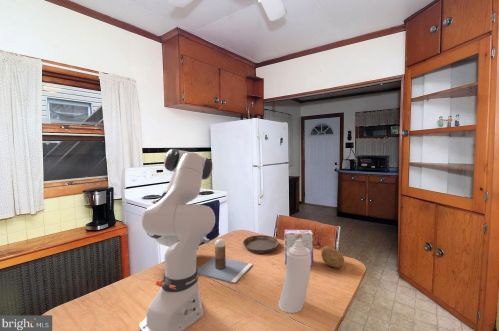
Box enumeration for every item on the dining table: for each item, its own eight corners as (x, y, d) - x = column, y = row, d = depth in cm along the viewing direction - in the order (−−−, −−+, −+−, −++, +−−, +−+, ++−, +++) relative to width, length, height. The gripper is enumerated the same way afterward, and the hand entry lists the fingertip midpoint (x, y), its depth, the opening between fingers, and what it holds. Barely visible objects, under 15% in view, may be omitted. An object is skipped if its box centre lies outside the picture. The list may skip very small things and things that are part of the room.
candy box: (311, 260, 127) (311, 229, 126) (313, 266, 121) (313, 233, 120) (284, 259, 129) (284, 228, 127) (284, 265, 123) (284, 232, 121)
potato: (331, 274, 114) (331, 257, 113) (316, 260, 128) (316, 245, 127) (350, 271, 116) (350, 255, 115) (333, 258, 129) (334, 243, 129)
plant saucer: (260, 258, 130) (260, 252, 130) (235, 247, 145) (235, 241, 145) (285, 247, 144) (285, 241, 144) (260, 237, 159) (260, 232, 159)
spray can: (289, 291, 101) (290, 232, 98) (314, 302, 94) (315, 238, 92) (274, 306, 92) (273, 241, 89) (299, 319, 85) (300, 249, 83)
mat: (235, 283, 107) (235, 282, 107) (194, 273, 116) (194, 271, 116) (252, 265, 123) (252, 263, 123) (215, 256, 132) (215, 255, 132)
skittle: (222, 270, 117) (221, 241, 116) (213, 268, 119) (212, 240, 118) (227, 265, 121) (226, 238, 120) (219, 263, 124) (218, 236, 122)
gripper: (166, 242, 121) (189, 247, 115) (193, 228, 139) (214, 232, 133) (167, 254, 121) (189, 260, 115) (193, 239, 140) (214, 243, 133)
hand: (203, 245), depth 124 cm, fingers open, 8 cm apart
